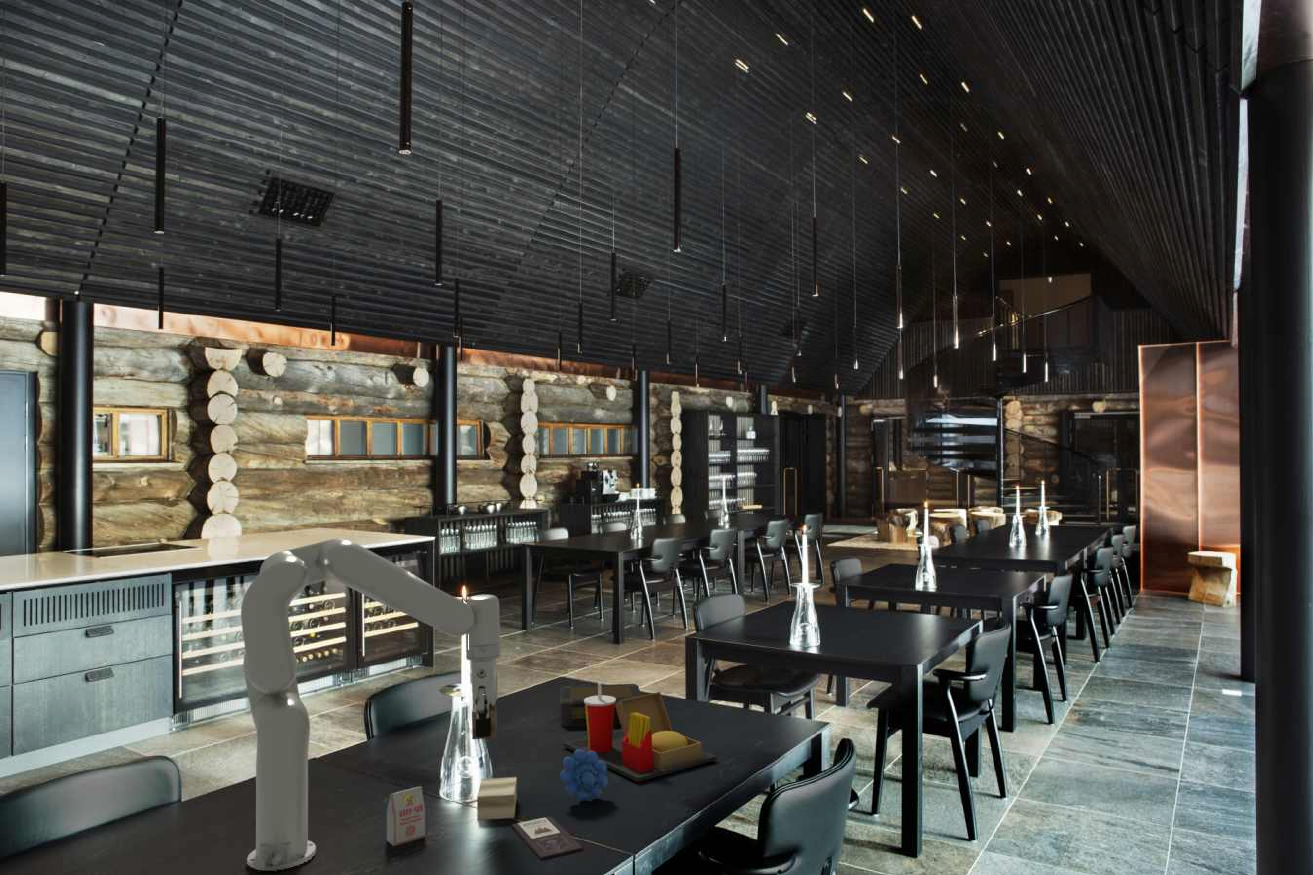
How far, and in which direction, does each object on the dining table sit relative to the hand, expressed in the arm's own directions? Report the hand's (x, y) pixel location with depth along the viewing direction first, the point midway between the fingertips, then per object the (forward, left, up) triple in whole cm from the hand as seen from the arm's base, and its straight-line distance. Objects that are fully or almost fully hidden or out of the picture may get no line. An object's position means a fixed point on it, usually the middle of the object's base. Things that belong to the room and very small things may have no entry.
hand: (484, 731), depth 192 cm
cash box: (+73, -30, -19) cm, 81 cm away
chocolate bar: (-15, -14, -19) cm, 28 cm away
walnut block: (0, 0, -1) cm, 1 cm away
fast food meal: (+34, -38, -19) cm, 54 cm away
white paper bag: (-11, +15, -18) cm, 26 cm away
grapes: (+3, -23, -18) cm, 29 cm away
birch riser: (+2, -3, -18) cm, 18 cm away
